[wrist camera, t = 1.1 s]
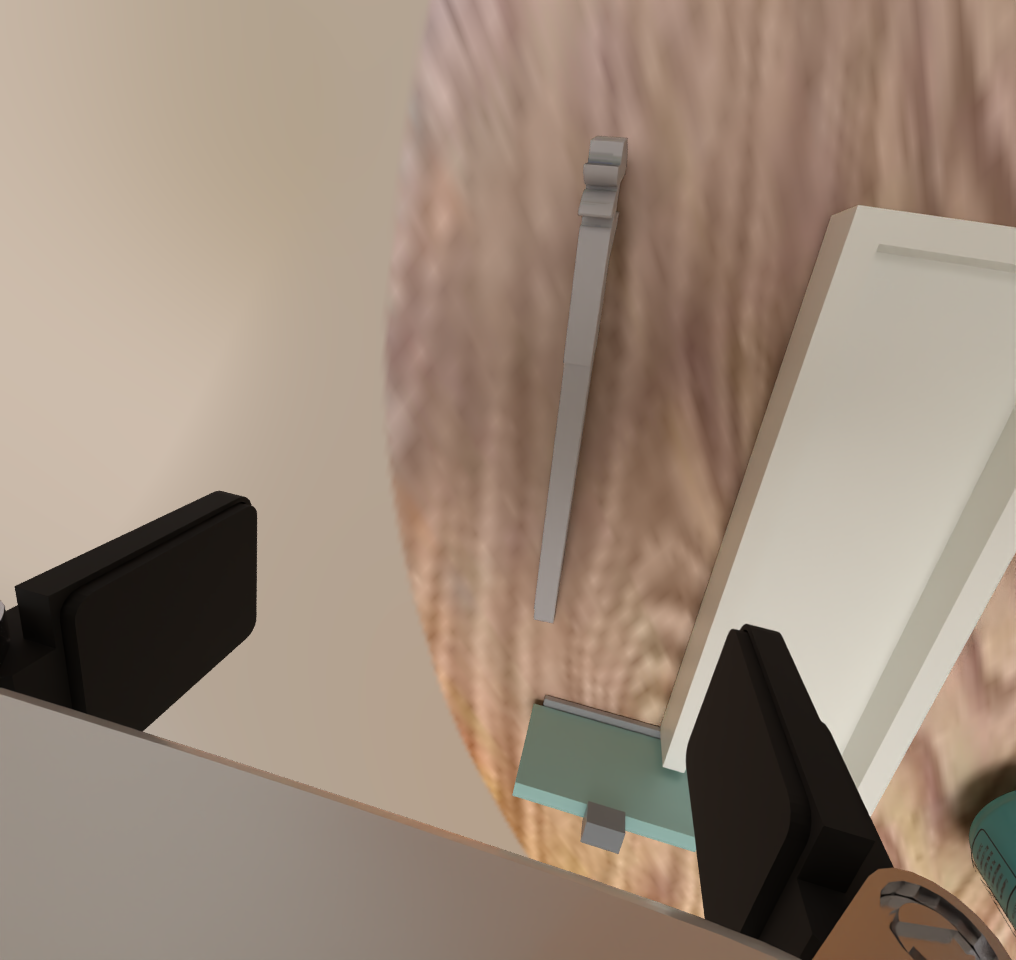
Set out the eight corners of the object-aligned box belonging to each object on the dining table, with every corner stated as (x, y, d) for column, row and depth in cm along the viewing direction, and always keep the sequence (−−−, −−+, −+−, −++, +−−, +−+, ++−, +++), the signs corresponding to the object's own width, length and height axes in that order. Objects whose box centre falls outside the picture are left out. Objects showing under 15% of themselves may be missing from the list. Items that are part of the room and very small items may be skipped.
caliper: (599, 158, 21) (587, 105, 15) (628, 160, 21) (628, 108, 15) (534, 614, 28) (509, 698, 22) (556, 619, 28) (536, 705, 22)
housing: (1111, 256, 18) (1181, 251, 16) (827, 815, 28) (845, 862, 25) (663, 191, 21) (667, 178, 18) (537, 730, 30) (529, 767, 27)
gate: (689, 744, 27) (704, 858, 22) (683, 762, 28) (696, 878, 22) (534, 700, 29) (511, 798, 23) (530, 718, 29) (507, 818, 23)
